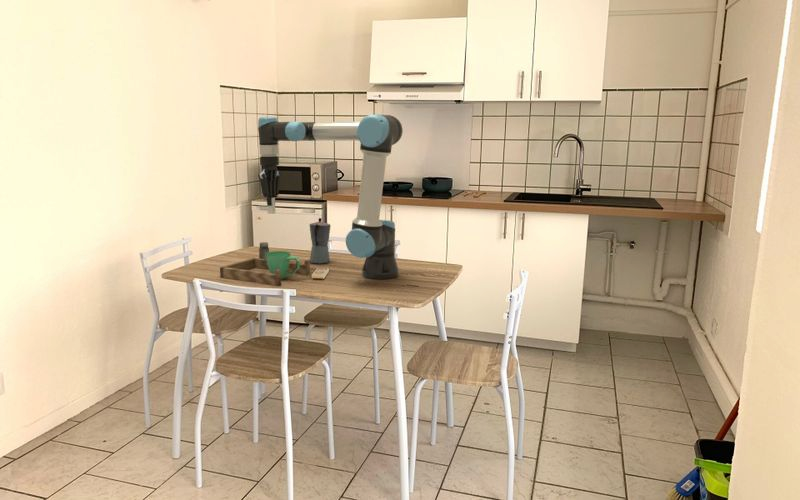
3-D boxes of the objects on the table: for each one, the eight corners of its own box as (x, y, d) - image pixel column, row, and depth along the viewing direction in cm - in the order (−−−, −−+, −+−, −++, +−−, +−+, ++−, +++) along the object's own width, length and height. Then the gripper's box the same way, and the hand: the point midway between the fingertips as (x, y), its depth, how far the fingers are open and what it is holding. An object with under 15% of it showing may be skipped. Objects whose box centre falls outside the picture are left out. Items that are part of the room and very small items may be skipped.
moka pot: (332, 259, 275) (332, 216, 271) (328, 266, 260) (327, 221, 256) (312, 258, 275) (311, 215, 271) (306, 266, 260) (305, 221, 256)
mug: (261, 279, 236) (260, 254, 234) (274, 273, 245) (273, 250, 243) (294, 283, 231) (293, 258, 229) (306, 277, 240) (305, 253, 238)
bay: (316, 272, 249) (315, 248, 247) (278, 285, 226) (277, 259, 224) (260, 264, 261) (260, 241, 259) (220, 277, 239) (219, 251, 237)
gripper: (271, 155, 248) (273, 211, 253) (251, 156, 236) (254, 214, 241) (286, 155, 245) (288, 212, 250) (267, 156, 233) (269, 215, 238)
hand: (271, 213), depth 245 cm, fingers closed
